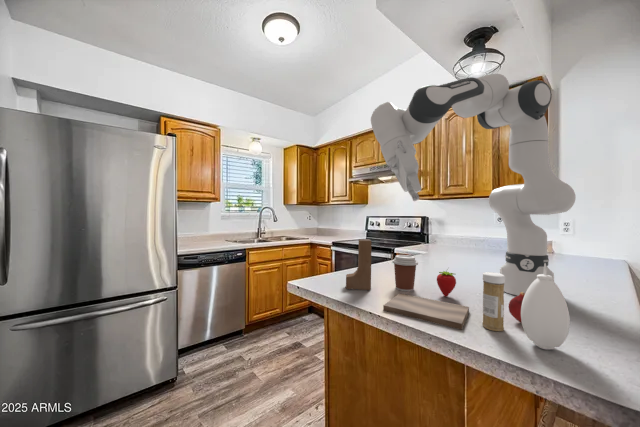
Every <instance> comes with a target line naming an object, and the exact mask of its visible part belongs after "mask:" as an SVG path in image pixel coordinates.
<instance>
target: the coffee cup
mask: <svg viewBox="0 0 640 427" xmlns="http://www.w3.org/2000/svg"><path fill="white" fill-rule="evenodd" d="M394 256H395V257H394V259H392V261H391V263H392V264H393V265H394V269H393V270H394V282H395V283H394V284H395V289H396V290H398V291H399V292H413V291H414V289H415V280H416V272H417V271H416V270H417V266H418V265H419V262H418V260H417V259H416V257H415V256H413V255H407V254H397V255H394Z"/></svg>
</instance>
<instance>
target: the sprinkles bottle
mask: <svg viewBox="0 0 640 427" xmlns="http://www.w3.org/2000/svg"><path fill="white" fill-rule="evenodd" d="M482 281H483V286H482V287H483V290H482V291H483V292H482V324H481V325H482V327H483V328H485V329H487V330H489V331H493V332H503V331H504V330H505V327H504V322H505V321H504V319H505V318H504V317H505V299H504V297H505V295H504V294H505V292H504V283H505V276H504V275H503V274H500V272H491V271H488V272H487V271H486V272H483V273H482Z"/></svg>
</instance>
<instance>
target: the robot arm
mask: <svg viewBox="0 0 640 427" xmlns="http://www.w3.org/2000/svg"><path fill="white" fill-rule="evenodd" d="M552 97H553V96H552V90H551V88H550V86H549V84H547V83H546V82H544V81H543V80H541V79H540V80H539V79H538V80H532V81H528V82H525V83H523V84H522V85H518V86H515V87H513V88H511V89H510V84H509V80H508V78H507V77H506V76H505V75H503V74H500V73H491V74H486V75H482V76H479V77H466V78H461V79H458V80H454V81H451V82H447V83H443V84H429V85H423V86H421V87H419V88H417V90H415V92H414V93H413V95H412V98H411V100H410V102H409V104H408V106H407V108H406V109H402V108H399V107H397V106H395V105H394V104H393V103H392V102H390V101H387V102H383V103H381V104H380V105H378V106H377V107H375V109H374V110H373V112H372V114H371V117H370V124H371V128H372V132H373V134H374V136H375V139H376V141H377V142H378V143H379V144H380V145H379V146H380V152H381V153H382V156H383V159H384V161H385V164H386V166H387V167H389V169H390V170H391V172H392V173H394V176H395V177H396V179H397V181H398V183H399V185H400V186H401V188H402V190H403V191H404V193H405V192H408V193H409V195H410V197H411V199H412V201H413V202H417V201H419V200H420V196H419V194H418V193H420V192H421V191H422V185H421V183H420V180H419V176H418V173H419V168H420V165H419V163H418V160H417V159H416V156H415V155H416V153H417V150H416V147H415V145H417V144H420V143H422V142H423V141H424V140H425V139H426V138H427V137H428V135H430V133H431V132H432V130H433V129H434V128H435V127H436V125H437V124H438V123H439V122H440V120H441V119H443V117H444V116H445V115H446V114H447V113H448V112H449V111H450V110H451V109H452V111H453V112H454V113H455V114H456V115H457V116H458V117H460V118H463V119H468V118H472V117H476V116H477V117H476V119H477V122H478V124H479V125H480V127H482V128H483V129H486V130H495V129H498V128H500V127H506V126H509V128H510V133H509V139H508V168H509V169H510V170H511V171H512V172H514V173H517V174H519V175H521V177H522V178H523V183H518V184H509V185H504V186H501V187H498V188H494V189H493V190H492V191H491V192H490V194H489V196H488V204H489V207H490V208H491V210H493V211H494V212H495V213H496V214H497V215H499V217H500V218H501V220H502V222H503V224H504V226H505V230H506V241H507V242H506V244H507V245H506V247H507V250H506V251H505V255H504V257H505V263H504V264H503V265H502V266H501V267H500V269H499V274H503V275H504V276H505V283H504V293H507V294H510V295H513V296H519V295H520V292H523V293H526V291H527V289H528V288H529V286H530V285H531V284H532V282H533V281H534V280H536V279H537V275H538V274H543V273H544V264H545V263H546V272H547V275H550V276H552V277H553V281H554V282H555V273H554V272H553V271H552V270H551V269H550V268H549V267H548V266H549V262H550V260H549V255H548V253H547V252H548V234H547V232H546V230H545V229H543V228H542V227H540V226H539V225H537V224H536V223H534V221H533V220H532V217H531V215H537V216H538V215H541V216H542V215H543V216H544V215H546V216H549V215H556V214H562V213H567V212H568V211H570V210H571V209H572V207H573V206H574V205H575V203H576V192H575V190H574V189H573V187H572V186H571V185H569V183H567V182H564V181H563V180H561V179H560V178H559V177H557V175H556V174H555V172H554V171H553V169H552V167H551V164H550V153H549V152H550V151H549V150H550V149H549V146H550V144H549V142H550V141H549V140H550V135H549V134H550V133H549V128H548V122H547V119H546V116H545V114H546V113H547V110H548V108H549V107H550V104H551V101H552Z"/></svg>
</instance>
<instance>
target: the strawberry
mask: <svg viewBox="0 0 640 427" xmlns="http://www.w3.org/2000/svg"><path fill="white" fill-rule="evenodd" d="M448 269H449V268H447V269H446V270H445V271H444V270H443V271H438V273H439V274H438V275H437V276H436V283H437V286H438V289H439V290H440V292H441V293H442V295H443V296H444V297H445V298H446V297H448V296H449V295H450V294H451V293H452V292H453V291H454V289H455V288H456V285H457V280H456V277H455V276H454V275H455V273H453V272H449V271H448Z"/></svg>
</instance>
